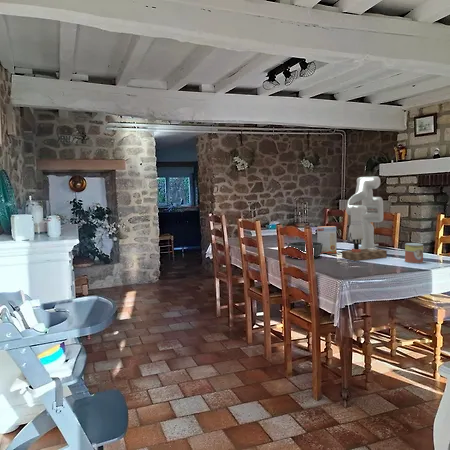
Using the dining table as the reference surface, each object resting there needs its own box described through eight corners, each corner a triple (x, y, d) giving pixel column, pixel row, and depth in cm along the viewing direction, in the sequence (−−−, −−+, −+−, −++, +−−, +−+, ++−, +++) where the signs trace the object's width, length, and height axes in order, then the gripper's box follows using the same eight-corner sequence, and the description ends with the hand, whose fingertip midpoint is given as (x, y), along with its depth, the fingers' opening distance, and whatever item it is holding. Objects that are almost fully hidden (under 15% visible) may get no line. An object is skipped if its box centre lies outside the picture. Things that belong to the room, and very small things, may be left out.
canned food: (411, 263, 273) (411, 245, 271) (401, 260, 284) (401, 243, 282) (426, 262, 275) (427, 244, 274) (415, 259, 286) (416, 242, 285)
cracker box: (335, 252, 325) (335, 225, 323) (336, 253, 319) (336, 226, 317) (317, 252, 327) (317, 226, 325) (318, 253, 321) (318, 226, 319)
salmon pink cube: (356, 254, 299) (356, 248, 299) (360, 255, 295) (360, 249, 294) (351, 254, 297) (351, 248, 297) (355, 255, 293) (355, 249, 293)
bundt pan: (283, 254, 322) (282, 241, 321) (315, 253, 325) (315, 240, 324) (292, 260, 295) (292, 246, 294) (328, 258, 299) (328, 245, 298)
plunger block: (373, 254, 310) (373, 248, 310) (386, 257, 297) (386, 250, 297) (342, 257, 300) (342, 251, 300) (354, 260, 287) (354, 253, 287)
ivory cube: (372, 254, 304) (372, 248, 304) (376, 254, 300) (376, 248, 299) (367, 254, 302) (367, 248, 302) (371, 255, 298) (371, 249, 298)
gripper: (361, 222, 300) (361, 247, 302) (344, 223, 295) (344, 249, 297) (368, 223, 293) (368, 248, 295) (351, 224, 288) (351, 250, 290)
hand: (356, 248), depth 296 cm, fingers closed
